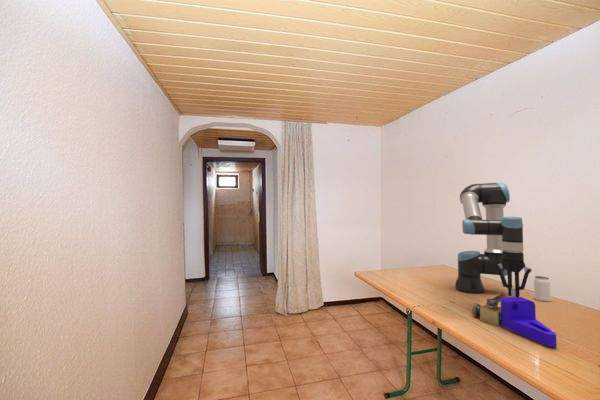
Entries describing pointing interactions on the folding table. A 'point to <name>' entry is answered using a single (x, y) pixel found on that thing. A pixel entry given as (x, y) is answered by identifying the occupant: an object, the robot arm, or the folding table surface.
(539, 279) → the can
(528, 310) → the bracket
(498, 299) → the lever
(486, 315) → the valve
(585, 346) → the folding table surface
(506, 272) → the robot arm
